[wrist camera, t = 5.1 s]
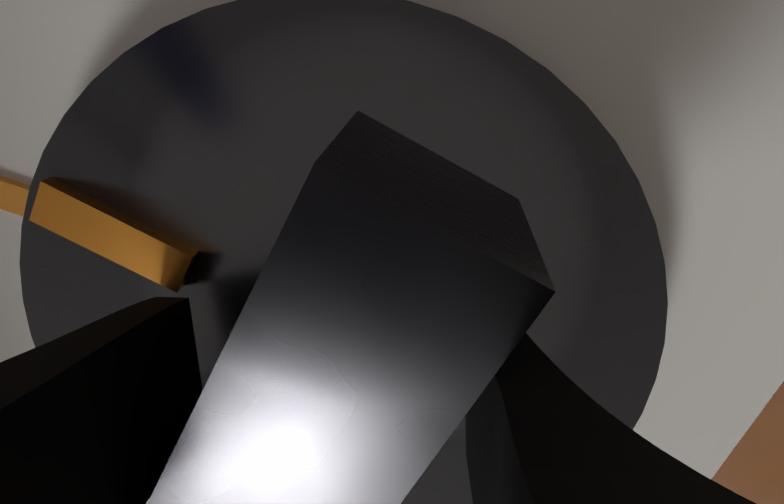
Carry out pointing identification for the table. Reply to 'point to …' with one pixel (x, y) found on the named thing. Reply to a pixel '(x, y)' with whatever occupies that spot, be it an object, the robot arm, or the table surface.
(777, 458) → the table surface
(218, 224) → the dial
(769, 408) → the table surface
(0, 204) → the dial panel
